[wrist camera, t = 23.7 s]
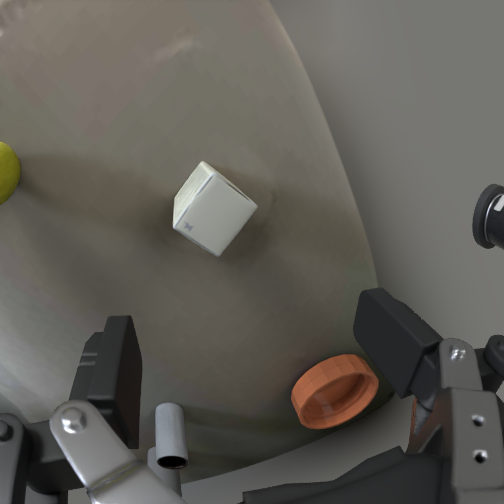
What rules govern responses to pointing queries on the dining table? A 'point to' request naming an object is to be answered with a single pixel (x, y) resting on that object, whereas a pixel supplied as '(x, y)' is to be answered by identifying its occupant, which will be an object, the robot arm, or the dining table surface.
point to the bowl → (334, 391)
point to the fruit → (8, 172)
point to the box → (210, 209)
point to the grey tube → (171, 437)
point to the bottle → (165, 472)
